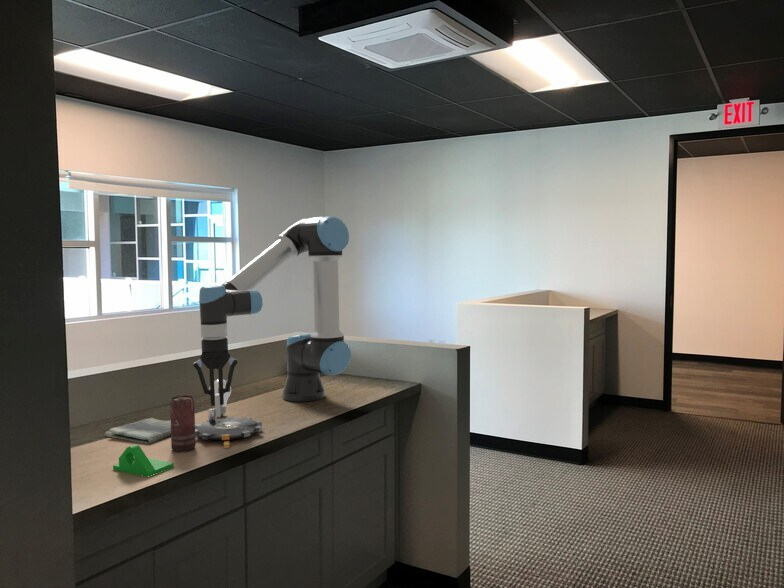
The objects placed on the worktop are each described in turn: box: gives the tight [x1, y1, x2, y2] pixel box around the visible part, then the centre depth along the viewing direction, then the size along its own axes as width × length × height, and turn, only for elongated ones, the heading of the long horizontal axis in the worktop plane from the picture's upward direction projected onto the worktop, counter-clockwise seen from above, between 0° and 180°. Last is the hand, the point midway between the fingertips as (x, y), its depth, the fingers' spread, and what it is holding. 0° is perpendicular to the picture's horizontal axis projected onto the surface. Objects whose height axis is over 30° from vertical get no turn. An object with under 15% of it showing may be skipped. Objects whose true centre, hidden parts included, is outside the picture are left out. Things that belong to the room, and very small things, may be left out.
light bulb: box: [208, 378, 232, 417], centre depth 200 cm, size 7×7×12 cm
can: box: [169, 395, 196, 453], centre depth 166 cm, size 6×6×14 cm
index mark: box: [223, 440, 230, 449], centre depth 168 cm, size 3×1×1 cm, turn 13°
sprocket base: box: [209, 437, 244, 442], centre depth 180 cm, size 12×12×1 cm
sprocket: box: [195, 408, 263, 441], centre depth 179 cm, size 19×20×5 cm
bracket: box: [112, 444, 175, 477], centre depth 151 cm, size 12×8×7 cm, turn 63°
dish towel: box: [104, 417, 171, 445], centre depth 182 cm, size 19×18×3 cm
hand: (217, 415), depth 185 cm, fingers closed
